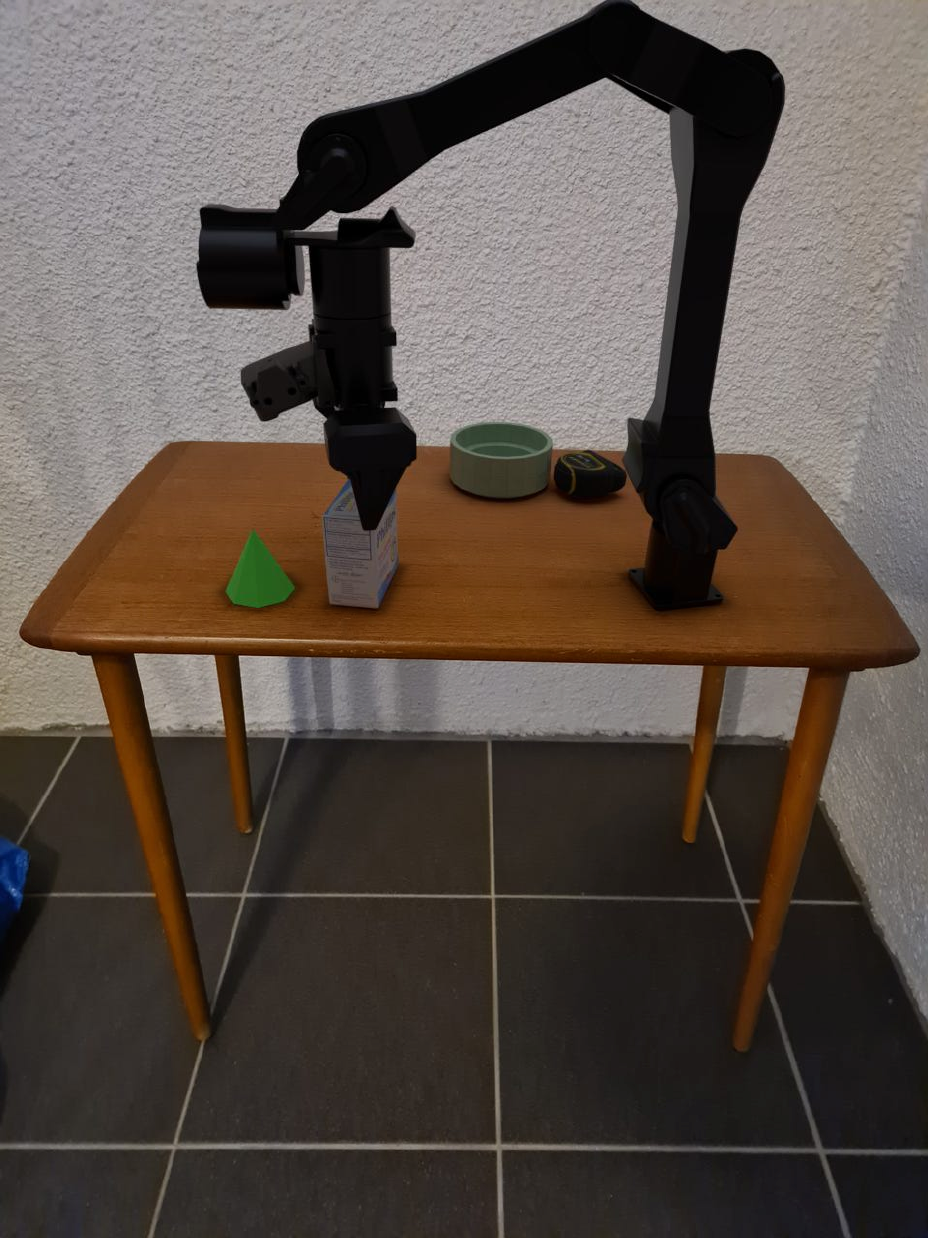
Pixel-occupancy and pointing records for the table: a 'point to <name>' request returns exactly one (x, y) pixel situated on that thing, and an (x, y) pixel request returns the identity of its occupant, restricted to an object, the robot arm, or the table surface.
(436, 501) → the table surface
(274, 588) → the green faceted cone
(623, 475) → the tape measure
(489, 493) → the bowl
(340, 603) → the medicine box
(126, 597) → the table surface
